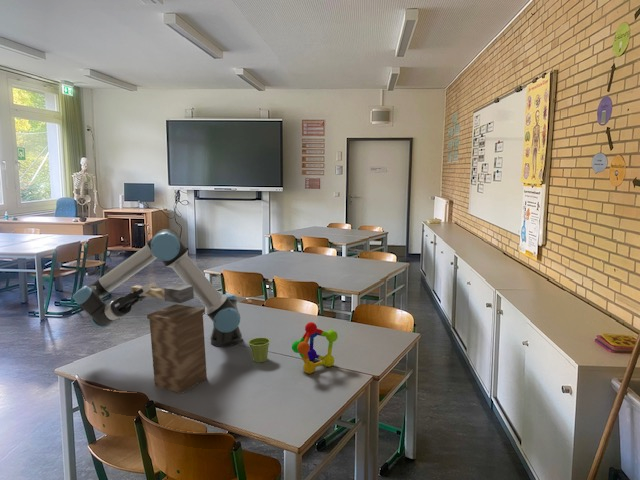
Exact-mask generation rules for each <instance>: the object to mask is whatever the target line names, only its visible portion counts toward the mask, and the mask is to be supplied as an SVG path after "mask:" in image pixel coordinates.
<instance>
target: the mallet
mask: <svg viewBox="0 0 640 480" xmlns="http://www.w3.org/2000/svg"><path fill="white" fill-rule="evenodd" d="M143 286H144V285H132V286H130V291H131V292H130V293H133V292H134V291H136V292H137V290H138V289H140V288H141V287H143ZM150 289H151V290H149V291H148V292H146V293H145V294H143V295H142V296H147V297H150V298H156V299H163V300H164V301H165V302H170V303H175V304H182V303H187V302H188V301H191V300H193V299H195V294H194V292H193V286H191V285H186V284H182V283H176V284H173V285H169V286H166V287H164V288H160V287H158V288H154V287H150ZM147 297H146V298H147Z"/></svg>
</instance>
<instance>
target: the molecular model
mask: <svg viewBox="0 0 640 480" xmlns="http://www.w3.org/2000/svg"><path fill="white" fill-rule="evenodd" d="M304 330H305V333H304V334H303V336H302V337H301V338H300V340H296V341H294V342H293V343H292V344H291V349H292V351H293V352H294V353H296V354H299V356H300V358H301V359H302V361H303V363H304V364H303V370H304V372H305V373H306V374H307V375H308V374H309V375H310V374H313V373H314V372H315V370H316V368H317V367H321V366H323V365H324V366H326V367H329V368H330V367H332V366H334V364H335V358H334V356H333V355H332V353H333V352H332V351H333V345H334V342H336V341H337V339H338V333H337V331H336V330H334V329H330V330H328V331H325V330H322V329H320V328H318V326H317V324H316V323H314V322H311V321H310V322H308V323H306V325H305V327H304ZM317 336H320V337H324V338H326V340H327V341H328V347H327V354H326V355H324V356H323V355H320V354H317V351H316V350H315V349H314V341H315V340H314V339H315V338H316V337H317ZM315 359H317V360H320V361H318V362H314V360H315Z"/></svg>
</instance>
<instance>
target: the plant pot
mask: <svg viewBox="0 0 640 480" xmlns="http://www.w3.org/2000/svg"><path fill="white" fill-rule="evenodd" d="M270 343H271V340H270V339H269V338H267V337H255V338H252V339H249V341H248V345H249V347H250V350H251V354H252V355H251V356H252V361H253V362H255V363H262V362H263V363H264V362H267V360H268V357H269V355H268V354H269V345H270Z"/></svg>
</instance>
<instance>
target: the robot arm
mask: <svg viewBox="0 0 640 480" xmlns="http://www.w3.org/2000/svg"><path fill="white" fill-rule="evenodd" d="M145 242H146V243H145V245H144V246H143V247H142V248H140V249H139V250H137V251H136V252H134V253H133V254H132V255H130V256H129V257H128V258H126V259H125V260H124V261H122V262H121V263H118V265H116V266H115V267H114V268H112V269H111V270H110V271H108V272H107V273H105V274H104V275H103V276H101V277H100V278H99V279H97V280H96V281H94V282H92V283H90V284H89V285H83V286H82V287H81V288H80V289H78V290H77V291H76V292H74V294H73V295H72V299H73V300H74V301H75V303H76V304H77V305H78V306H80V307H81V309H83V310H84V311H85V312H86V313H87V315H89V316H90V317H91V319H90V322H91V325H92V326H93V327H94V328H96V329H98V330H101V329H102V330H103V329H105V328H106V327H109V326H111V325H112V324H113V323H115V322H116V321H120V320H121V318H122V317H124V316H126V315H127V314H129V313H130V312H131V310H132V307H133V306H134V305H135V304H136V303H139V302H142V301H143V300H144V299H145V298H147V296H142V295H143V294H145V293H146V292H148V291H149V290H151V289H150V287H154V288H159V286H158V284H157V283H156V281H153V282H151V283H148V282H147V283H145V284H144V285H142V286H143V287H141V288H140V289H138V290H137V292H136V291H134V292H133V293H131V292H129V293H128V294H126V295H125V296H119V297H117V298H116V299H114V300H112V301H111V302H110V303H108V304H106V302H104V300H103V298H104V297H106V296H107V295H108V294H109V293H110V292H112V291H113V290H115V289H116V288H117V287H119V286H120V285H122V284H123V283H125V282H126V281H127V280H128V279H130V278H131V277H132V276H134V275H136V274H137V273H138V272H140V271H141V270H143V269H145V268H146V267H147V266H148V265H149V264H151V263H153V262H154V261H155V260H160V262H162V264H163V265H164V266H165V267H166V268H171V269H172V270H173V271H174V272H175V274H177V276H178V277H179V278H180V279H181V280H182V282H183V283H184V285H191V286H193V292H194V297H196V298H197V299H198V301H200V302H201V304H202V305H203V306H204V307H205V314H206V316H208V318H210V320H211V321H212V323H213V324H212V325H213V326H212V327H213V328H212V329H211V330H212V331H211V334H210V345H213V346H215V347H229V346H234V345H237V344H239V343H241V342H242V341H243V335H242V332H241V329H240V327H239V325H240V323H241V314H240V312H239V308H238V305H237V301H238V300H237V295H236V294H233V293H230V294H229V293H227V294H226V293H225V294H221V293H220V292H219V291H218V289H217V288H216V287H215V286H214V285H213V284H212V283H211V281H210V280H209V279H208V277H206V276H205V274H204V273H203V271H202V270H201V269H200V268H199V267H198V266H197V264H195V262H194V261H193V260H192V259H191V257H190V256H189V249H188V248H187V247H186V245H185V244H184V243H183V242H182V241H181V238H180V235H179V234H178V232H177V231H175V230H173V229H171V228H164V229H160V230H158V231H157V232H156V233H155V235H153V237H151V238H150V239H149V240H148V241H145Z"/></svg>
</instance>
